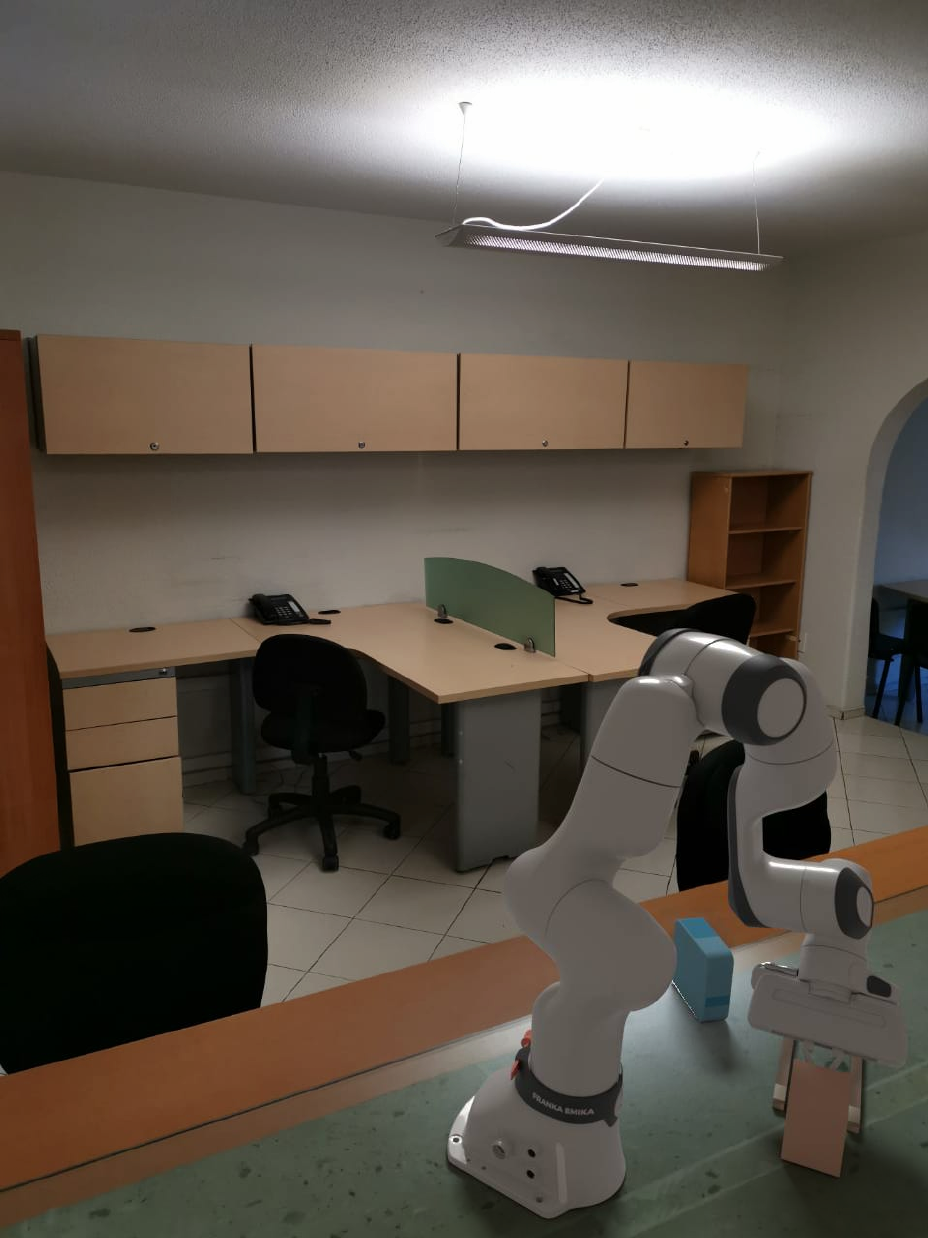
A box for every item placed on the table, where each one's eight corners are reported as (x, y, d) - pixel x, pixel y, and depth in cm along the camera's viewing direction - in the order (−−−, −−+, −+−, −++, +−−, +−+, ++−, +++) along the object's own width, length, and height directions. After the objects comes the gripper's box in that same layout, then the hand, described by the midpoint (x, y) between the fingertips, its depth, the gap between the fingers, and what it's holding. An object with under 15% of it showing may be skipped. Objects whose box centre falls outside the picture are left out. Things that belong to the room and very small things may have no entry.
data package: (728, 1023, 145) (735, 955, 142) (701, 1027, 144) (708, 958, 141) (694, 977, 156) (700, 913, 153) (668, 980, 155) (674, 915, 152)
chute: (772, 1107, 128) (773, 1097, 127) (787, 1010, 148) (788, 1002, 148) (858, 1133, 124) (859, 1124, 123) (862, 1030, 144) (863, 1021, 144)
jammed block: (780, 1158, 119) (788, 1098, 117) (786, 1116, 126) (794, 1058, 124) (839, 1177, 116) (848, 1116, 114) (842, 1133, 123) (850, 1074, 121)
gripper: (754, 952, 132) (737, 1055, 125) (913, 992, 124) (904, 1104, 117) (754, 963, 137) (739, 1062, 130) (908, 1002, 129) (899, 1110, 122)
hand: (818, 1082), depth 124 cm, fingers closed, pressing on jammed block
